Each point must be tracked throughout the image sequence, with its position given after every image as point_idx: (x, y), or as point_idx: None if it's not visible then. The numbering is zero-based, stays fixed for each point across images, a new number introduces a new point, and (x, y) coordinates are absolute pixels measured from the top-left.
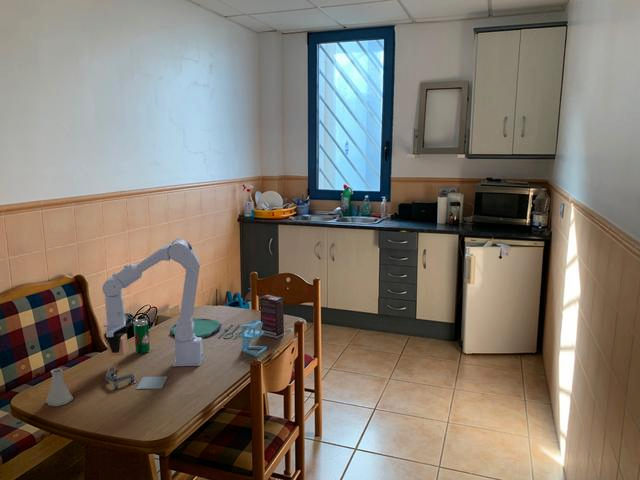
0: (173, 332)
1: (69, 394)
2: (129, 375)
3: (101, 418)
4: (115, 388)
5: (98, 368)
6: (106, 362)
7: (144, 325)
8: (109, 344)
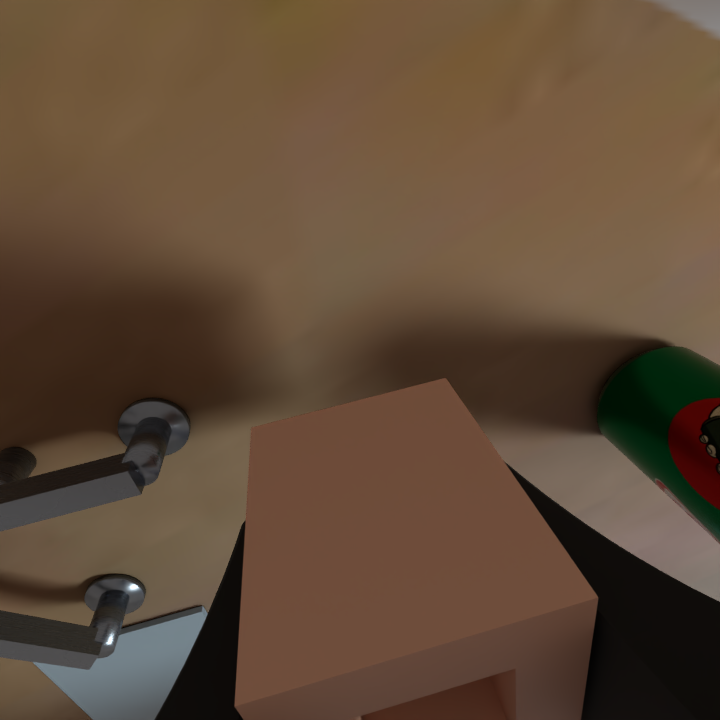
0: None
1: None
2: (57, 663)
3: None
4: None
5: (272, 192)
6: (428, 195)
7: None
8: (185, 668)
